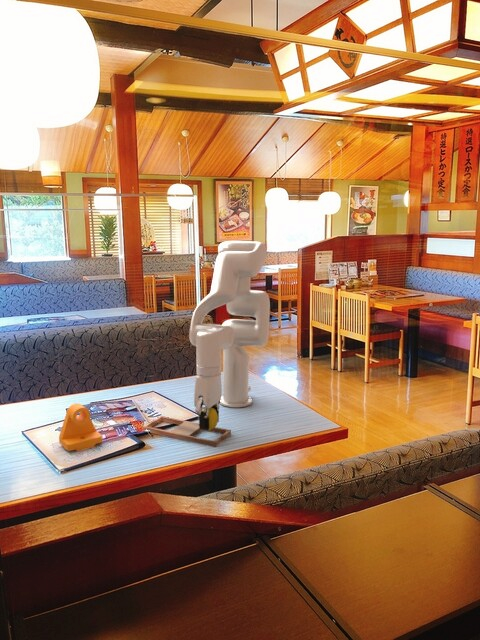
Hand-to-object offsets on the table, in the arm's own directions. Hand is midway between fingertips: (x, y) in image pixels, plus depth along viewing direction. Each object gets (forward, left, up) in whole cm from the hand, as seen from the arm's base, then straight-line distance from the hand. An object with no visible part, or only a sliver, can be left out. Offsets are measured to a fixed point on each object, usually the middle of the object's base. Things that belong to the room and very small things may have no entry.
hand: (209, 424), depth 160 cm
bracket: (+23, -31, -4) cm, 39 cm away
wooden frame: (+1, -8, -4) cm, 9 cm away
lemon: (0, 0, -2) cm, 2 cm away
